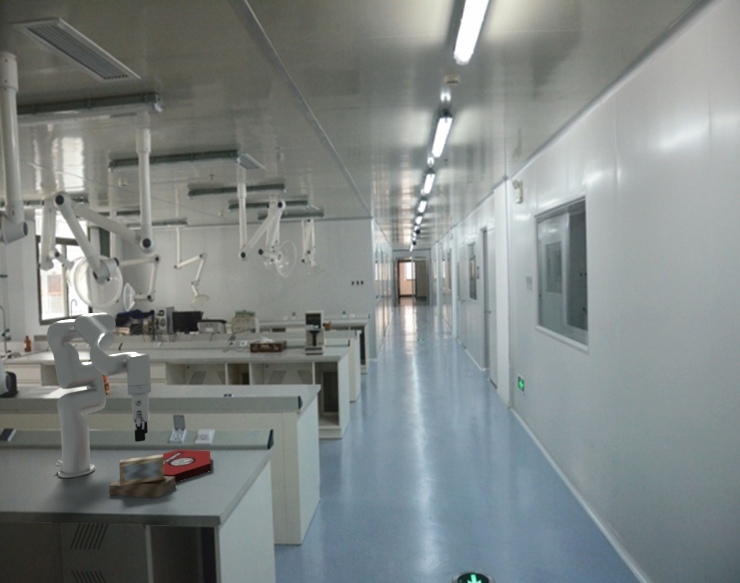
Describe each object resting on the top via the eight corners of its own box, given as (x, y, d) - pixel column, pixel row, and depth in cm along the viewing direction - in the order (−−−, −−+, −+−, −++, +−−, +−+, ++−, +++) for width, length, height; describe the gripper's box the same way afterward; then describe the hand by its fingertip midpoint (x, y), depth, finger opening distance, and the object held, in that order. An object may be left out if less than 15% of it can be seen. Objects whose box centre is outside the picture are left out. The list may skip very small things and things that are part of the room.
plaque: (119, 481, 193) (192, 485, 187) (119, 472, 193) (192, 476, 187) (162, 457, 219) (227, 460, 213) (161, 448, 219) (226, 451, 213)
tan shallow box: (109, 495, 179) (109, 485, 179) (128, 483, 189) (127, 474, 189) (158, 497, 176) (158, 487, 176) (175, 486, 185) (174, 476, 185)
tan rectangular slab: (120, 485, 179) (119, 462, 178) (121, 482, 181) (120, 459, 181) (163, 479, 183) (162, 457, 183) (164, 476, 186) (163, 454, 186)
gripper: (149, 392, 175) (151, 442, 175) (152, 383, 191) (154, 429, 191) (124, 394, 172) (126, 445, 172) (130, 385, 189) (132, 432, 189)
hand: (141, 437), depth 182 cm, fingers open, 9 cm apart
